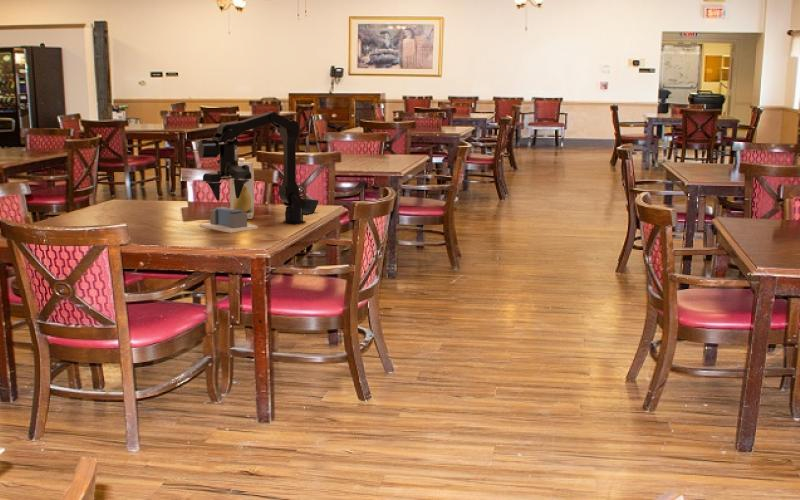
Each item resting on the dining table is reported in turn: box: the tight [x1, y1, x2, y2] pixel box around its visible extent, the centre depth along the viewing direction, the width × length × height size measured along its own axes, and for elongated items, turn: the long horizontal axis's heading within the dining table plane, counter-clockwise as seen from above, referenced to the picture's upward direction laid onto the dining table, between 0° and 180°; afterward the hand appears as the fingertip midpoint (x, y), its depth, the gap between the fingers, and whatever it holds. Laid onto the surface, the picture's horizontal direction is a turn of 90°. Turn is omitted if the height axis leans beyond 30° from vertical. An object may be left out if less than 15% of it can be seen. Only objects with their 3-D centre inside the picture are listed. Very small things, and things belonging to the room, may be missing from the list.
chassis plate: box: [199, 208, 259, 234], centre depth 330 cm, size 13×18×6 cm
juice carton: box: [229, 157, 255, 220], centre depth 351 cm, size 9×8×24 cm
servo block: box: [214, 206, 243, 227], centre depth 330 cm, size 4×11×6 cm, turn 49°
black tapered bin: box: [302, 198, 319, 216], centre depth 369 cm, size 12×7×10 cm
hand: (227, 199), depth 329 cm, fingers open, 9 cm apart
